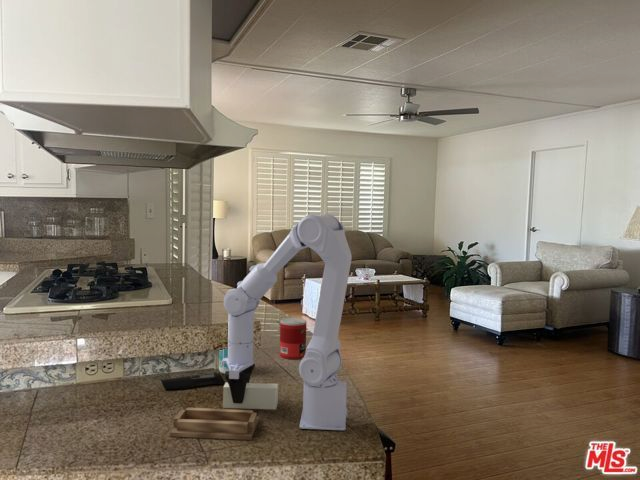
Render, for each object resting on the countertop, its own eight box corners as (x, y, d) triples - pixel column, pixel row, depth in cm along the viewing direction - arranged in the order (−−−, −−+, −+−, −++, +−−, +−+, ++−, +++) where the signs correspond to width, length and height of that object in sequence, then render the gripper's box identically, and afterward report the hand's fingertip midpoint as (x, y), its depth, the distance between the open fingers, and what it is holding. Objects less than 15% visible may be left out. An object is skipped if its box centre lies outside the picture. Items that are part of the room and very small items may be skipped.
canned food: (305, 360, 150) (306, 323, 149) (278, 359, 150) (279, 323, 149) (306, 352, 157) (307, 318, 157) (280, 351, 157) (281, 317, 157)
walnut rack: (258, 420, 107) (258, 408, 107) (250, 440, 98) (251, 427, 98) (184, 417, 108) (184, 405, 108) (170, 436, 99) (170, 423, 99)
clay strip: (277, 404, 116) (277, 383, 116) (276, 410, 113) (276, 388, 113) (225, 403, 116) (225, 382, 116) (222, 408, 113) (223, 387, 113)
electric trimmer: (159, 389, 125) (159, 376, 125) (221, 380, 131) (221, 368, 131) (161, 394, 122) (161, 381, 121) (225, 385, 128) (225, 373, 128)
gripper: (230, 332, 121) (229, 387, 122) (215, 349, 107) (214, 411, 108) (259, 333, 121) (258, 388, 122) (248, 350, 107) (247, 412, 108)
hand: (239, 399), depth 115 cm, fingers open, 3 cm apart
